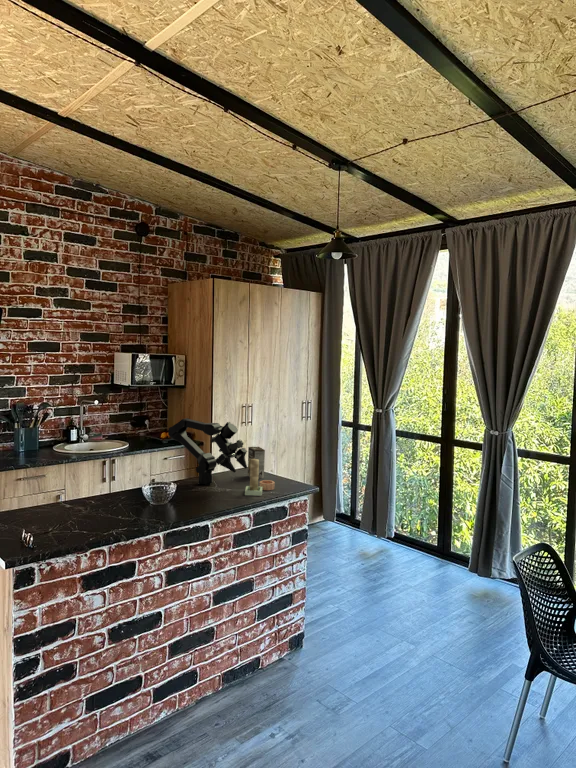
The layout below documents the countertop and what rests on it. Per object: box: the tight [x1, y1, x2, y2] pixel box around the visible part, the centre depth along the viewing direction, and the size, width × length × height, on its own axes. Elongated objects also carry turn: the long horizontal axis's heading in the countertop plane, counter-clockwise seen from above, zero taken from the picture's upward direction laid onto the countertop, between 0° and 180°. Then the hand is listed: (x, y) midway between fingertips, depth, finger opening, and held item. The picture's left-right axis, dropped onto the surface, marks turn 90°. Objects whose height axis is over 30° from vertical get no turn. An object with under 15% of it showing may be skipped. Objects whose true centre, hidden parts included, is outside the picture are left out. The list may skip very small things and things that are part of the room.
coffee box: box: [247, 446, 266, 480], centre depth 291 cm, size 9×6×16 cm
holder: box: [258, 479, 276, 491], centre depth 269 cm, size 8×8×4 cm
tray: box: [244, 485, 263, 497], centre depth 260 cm, size 8×8×3 cm
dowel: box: [249, 459, 259, 491], centre depth 259 cm, size 4×4×16 cm
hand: (240, 470), depth 263 cm, fingers open, 9 cm apart
